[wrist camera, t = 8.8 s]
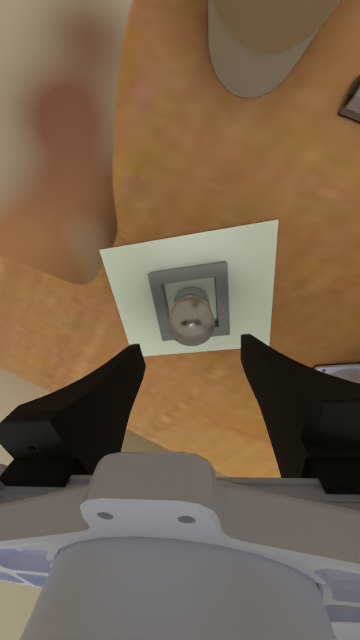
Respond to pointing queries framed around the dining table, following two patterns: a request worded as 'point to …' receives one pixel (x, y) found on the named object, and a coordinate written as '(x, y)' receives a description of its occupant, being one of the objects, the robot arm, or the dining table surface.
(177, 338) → the key peg
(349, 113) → the metal rod
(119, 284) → the socket
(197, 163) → the dining table surface
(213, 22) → the coffee cup
